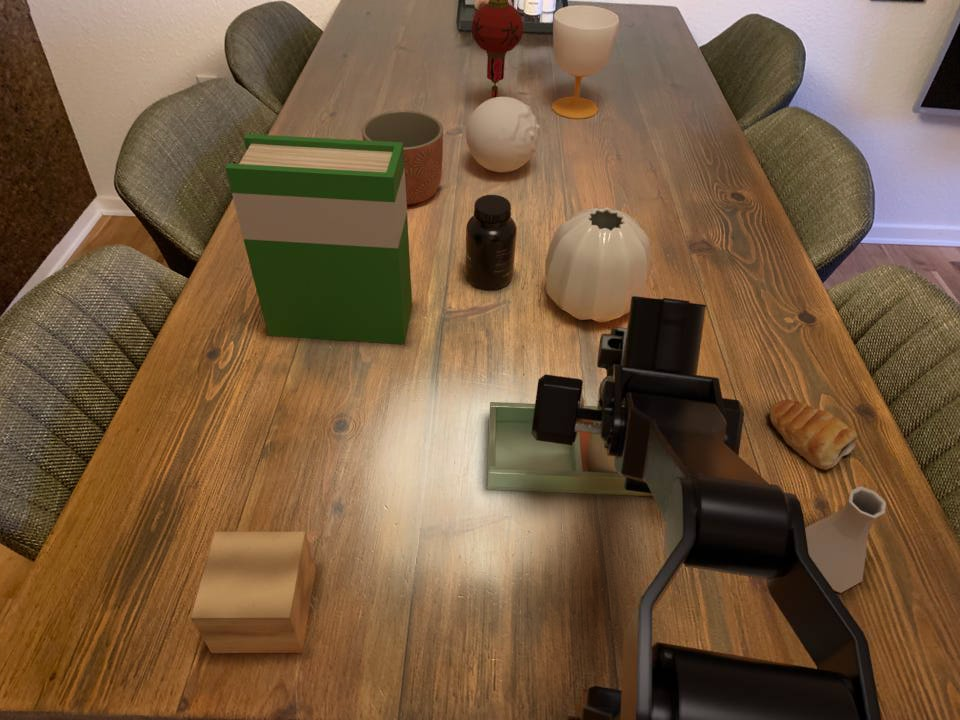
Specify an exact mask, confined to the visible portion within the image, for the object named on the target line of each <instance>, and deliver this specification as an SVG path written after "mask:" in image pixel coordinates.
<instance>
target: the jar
mask: <svg viewBox="0 0 960 720" xmlns="http://www.w3.org/2000/svg"><path fill="white" fill-rule="evenodd" d="M605 381H609V382H612V377H611V376H607V375H606V376H605V377H604V378H603V379H602V380H601V381H600V384H599V387H598V392H597V400H596V405H595V406H596V409H598V410H602V403H603V390H604V386H605ZM593 423H594V426H595V424H596V423H598V426H599V425H600V423H601V421H594V420H593ZM604 445H605V443H604V441H603V440H602V439H601V435H600V434H593V433H590V438H589V443H588V447H587V452H586V463H587V466H588V468H589V470H590V471H591V472H608V473H618V472H617V471H616V469H615V456H608V455H607V449H606V448H604Z"/></svg>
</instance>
